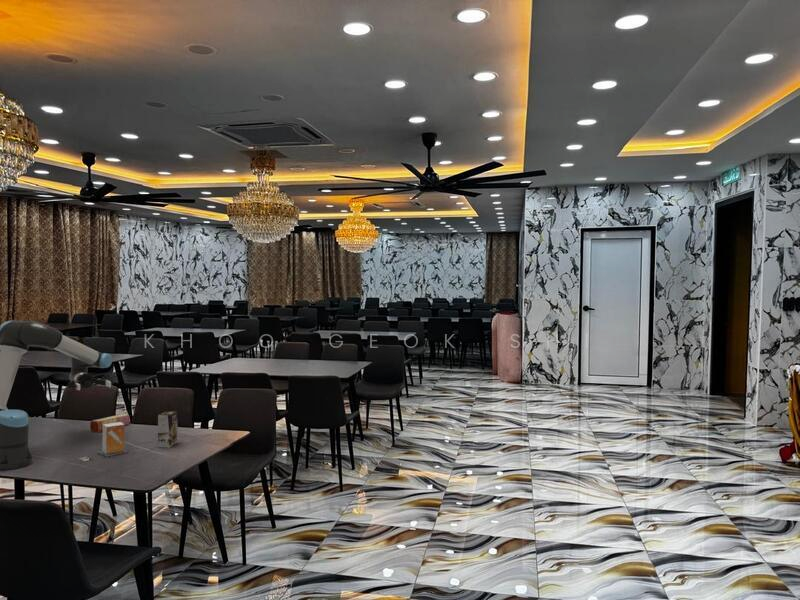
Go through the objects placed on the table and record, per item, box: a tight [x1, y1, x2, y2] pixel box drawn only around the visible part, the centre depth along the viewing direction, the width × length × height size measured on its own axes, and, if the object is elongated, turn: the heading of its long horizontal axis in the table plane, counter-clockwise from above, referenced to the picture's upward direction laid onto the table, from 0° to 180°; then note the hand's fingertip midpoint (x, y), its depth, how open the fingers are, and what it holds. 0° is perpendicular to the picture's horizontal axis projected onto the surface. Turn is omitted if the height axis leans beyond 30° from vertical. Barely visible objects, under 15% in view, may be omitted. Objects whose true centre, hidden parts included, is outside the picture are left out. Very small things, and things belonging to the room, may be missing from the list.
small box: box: [101, 422, 126, 454], centre depth 266 cm, size 8×6×13 cm
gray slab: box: [96, 449, 130, 458], centre depth 266 cm, size 10×10×1 cm
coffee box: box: [157, 410, 178, 449], centre depth 280 cm, size 9×6×16 cm
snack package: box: [89, 413, 131, 433], centre depth 312 cm, size 21×7×7 cm, turn 157°
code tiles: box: [78, 456, 90, 462], centre depth 256 cm, size 4×6×1 cm, turn 52°
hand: (95, 386), depth 275 cm, fingers open, 13 cm apart
